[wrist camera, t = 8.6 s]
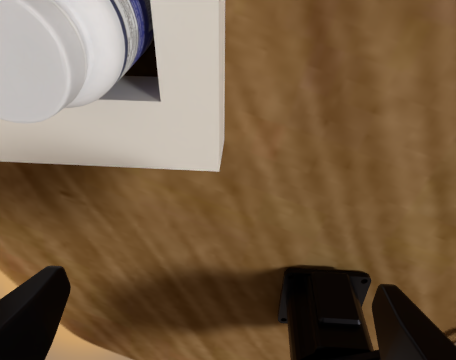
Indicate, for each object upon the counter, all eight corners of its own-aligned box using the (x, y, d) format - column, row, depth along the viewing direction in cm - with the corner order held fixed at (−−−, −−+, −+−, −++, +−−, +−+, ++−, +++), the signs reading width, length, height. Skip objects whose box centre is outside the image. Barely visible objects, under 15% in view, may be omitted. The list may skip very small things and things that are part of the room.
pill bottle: (48, 38, 18) (-91, 105, 11) (59, -77, 15) (-121, -92, 8) (146, 78, 19) (77, 164, 12) (173, -25, 16) (105, 6, 9)
